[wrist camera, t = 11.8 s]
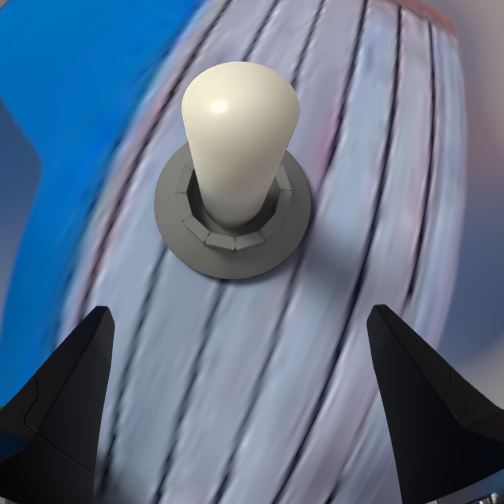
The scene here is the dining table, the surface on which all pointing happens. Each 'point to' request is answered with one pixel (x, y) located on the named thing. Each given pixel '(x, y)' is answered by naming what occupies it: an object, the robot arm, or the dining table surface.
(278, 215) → the holder
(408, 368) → the robot arm
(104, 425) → the dining table surface
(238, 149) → the candle
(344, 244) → the dining table surface
